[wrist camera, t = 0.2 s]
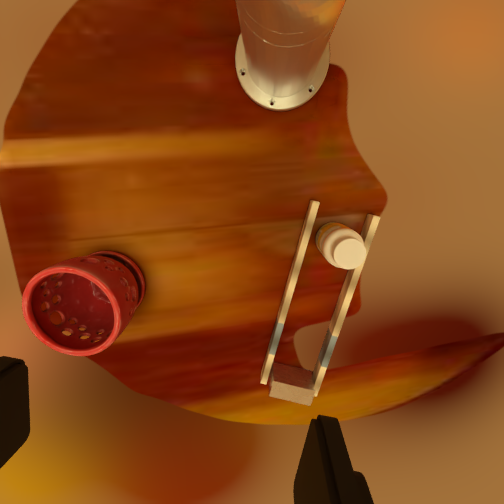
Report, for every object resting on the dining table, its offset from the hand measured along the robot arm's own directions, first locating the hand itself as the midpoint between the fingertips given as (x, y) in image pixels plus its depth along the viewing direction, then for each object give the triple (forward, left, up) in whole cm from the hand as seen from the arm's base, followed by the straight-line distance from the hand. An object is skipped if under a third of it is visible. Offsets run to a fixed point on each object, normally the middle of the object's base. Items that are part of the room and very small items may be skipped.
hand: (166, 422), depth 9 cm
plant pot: (+14, -20, -36) cm, 44 cm away
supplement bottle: (-2, +13, -36) cm, 39 cm away
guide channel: (+9, +13, -36) cm, 39 cm away
